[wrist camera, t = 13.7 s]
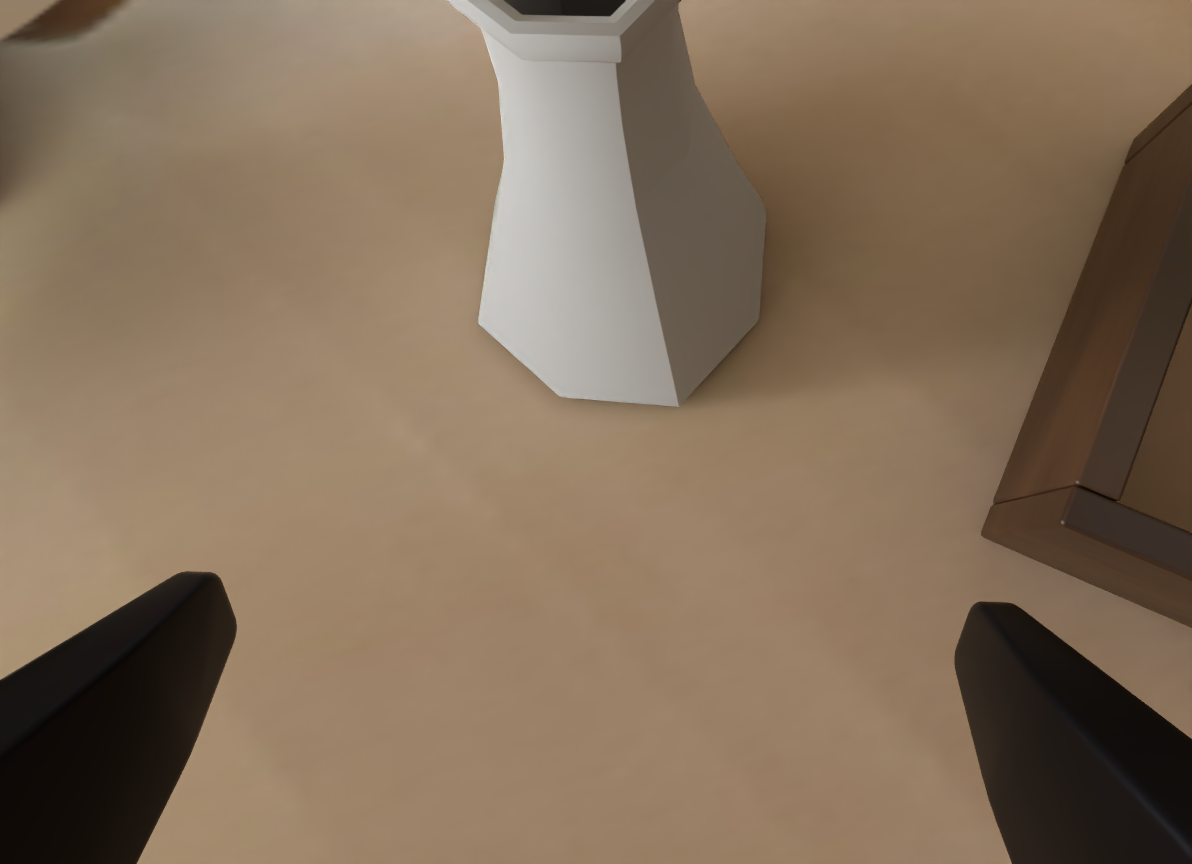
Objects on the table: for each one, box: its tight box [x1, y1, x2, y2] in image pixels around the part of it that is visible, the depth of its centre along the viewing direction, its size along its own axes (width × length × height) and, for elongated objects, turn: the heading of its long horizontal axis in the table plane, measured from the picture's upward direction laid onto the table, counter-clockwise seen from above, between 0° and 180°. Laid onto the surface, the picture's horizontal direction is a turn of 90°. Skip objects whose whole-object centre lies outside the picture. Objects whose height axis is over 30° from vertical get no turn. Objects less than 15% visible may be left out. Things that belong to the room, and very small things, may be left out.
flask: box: [448, 0, 767, 407], centre depth 13 cm, size 7×7×10 cm
